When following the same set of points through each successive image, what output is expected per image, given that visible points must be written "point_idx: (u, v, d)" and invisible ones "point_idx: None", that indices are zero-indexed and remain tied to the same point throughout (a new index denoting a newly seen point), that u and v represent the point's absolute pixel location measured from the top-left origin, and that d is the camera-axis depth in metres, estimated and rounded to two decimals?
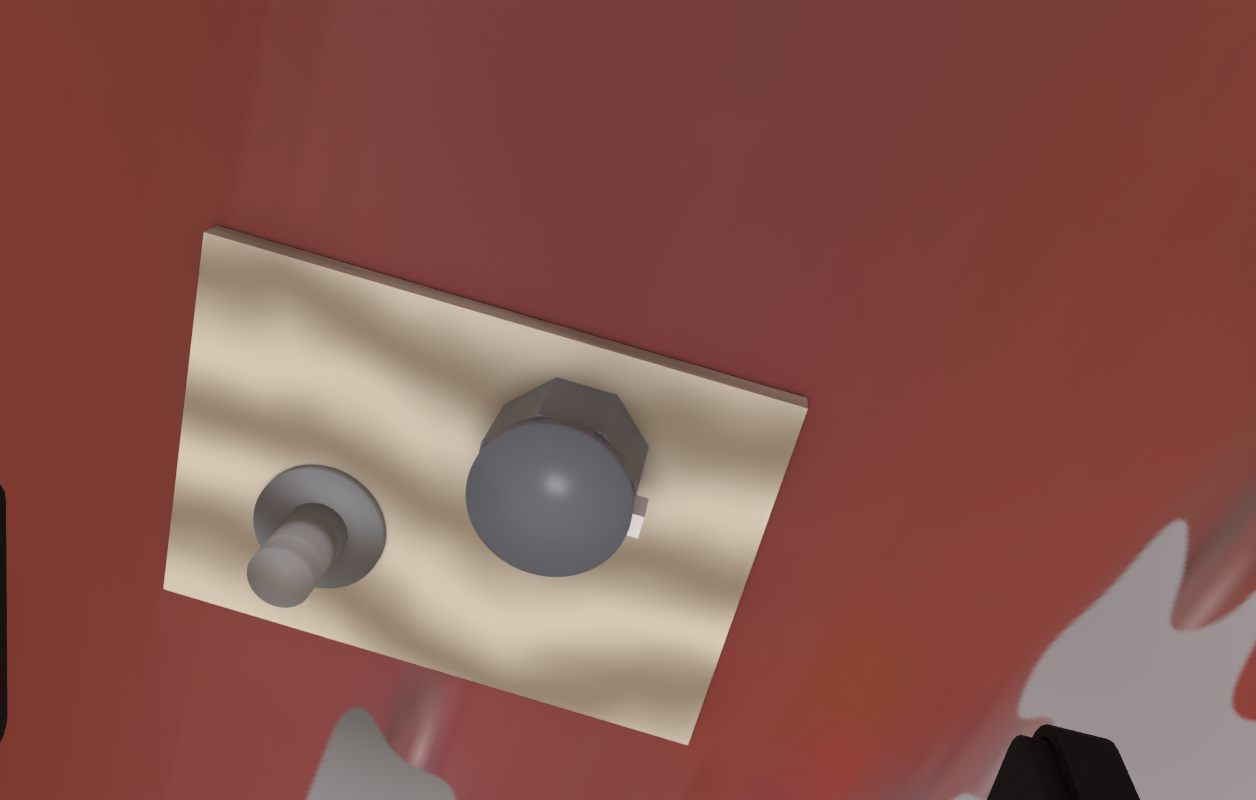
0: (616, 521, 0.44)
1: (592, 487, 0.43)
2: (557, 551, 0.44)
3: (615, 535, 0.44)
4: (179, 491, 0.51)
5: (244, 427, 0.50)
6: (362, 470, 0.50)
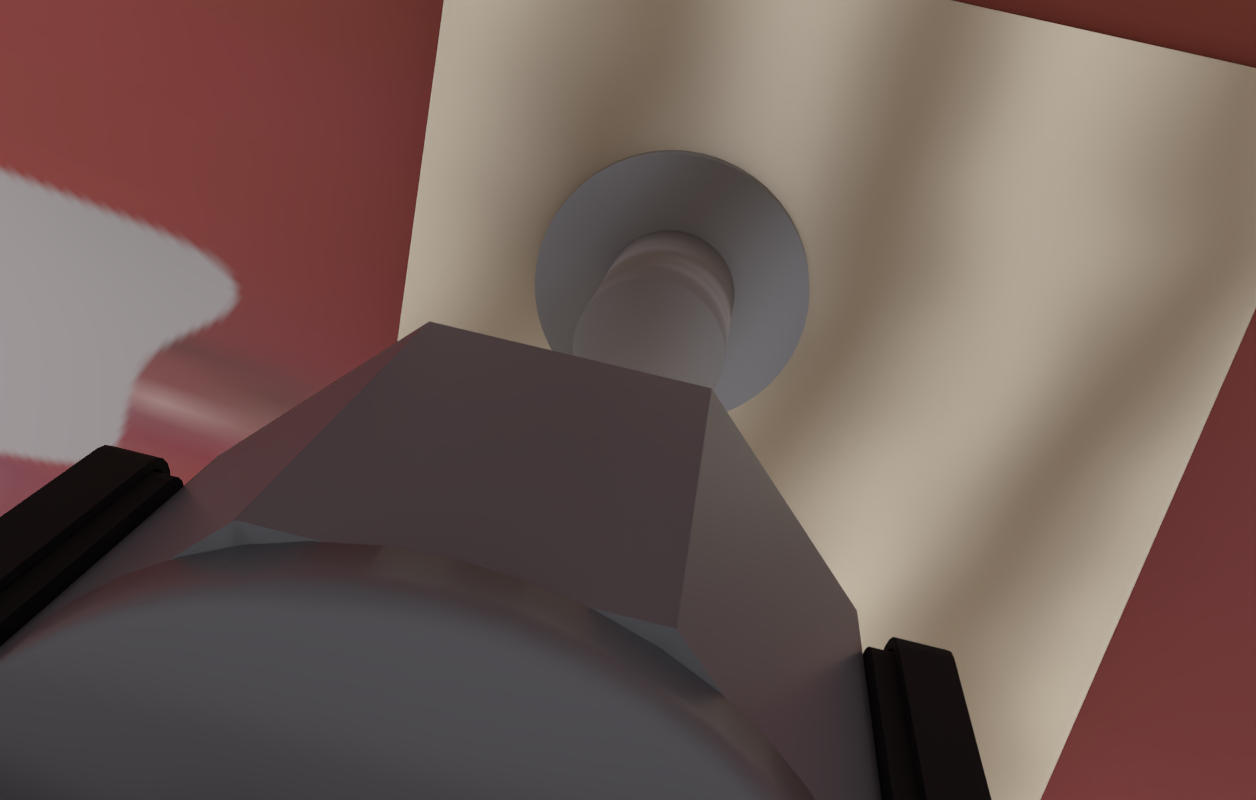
0: None
1: None
2: None
3: None
4: None
5: (887, 136, 0.23)
6: (800, 376, 0.25)
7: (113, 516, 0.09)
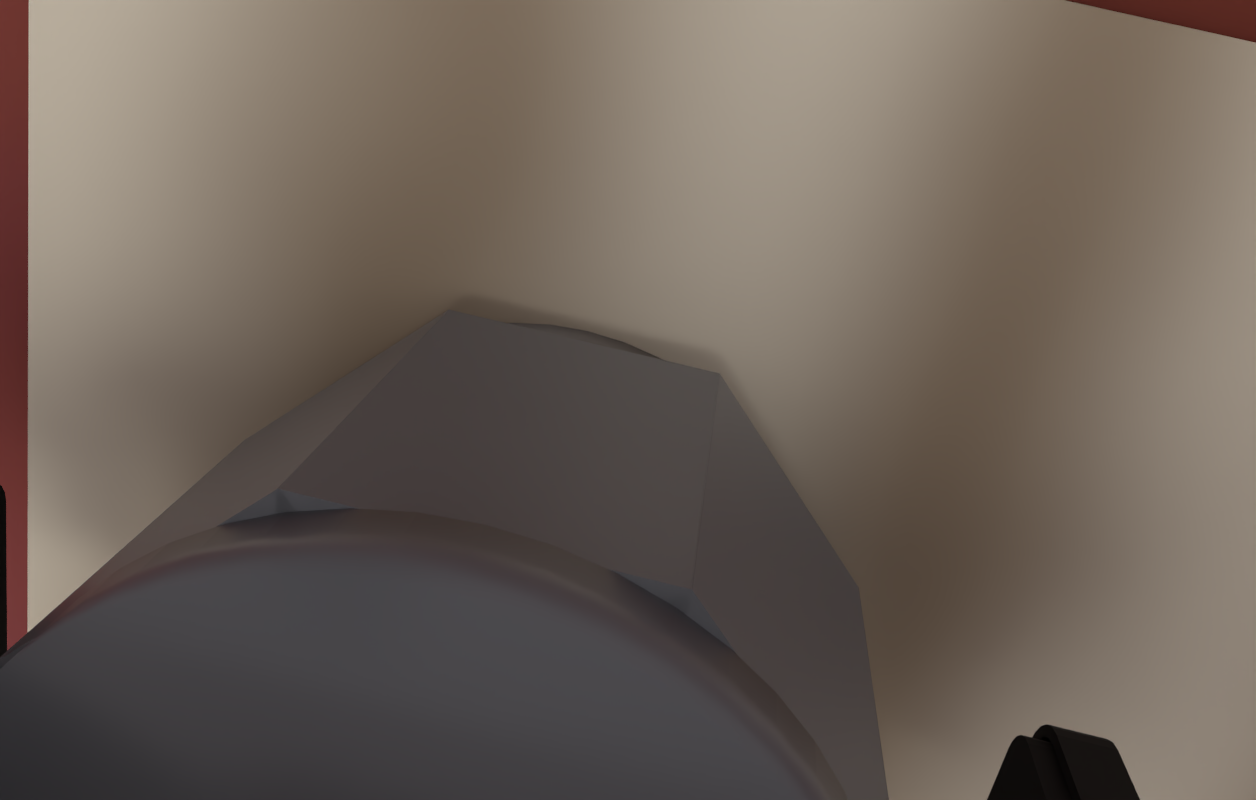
0: None
1: None
2: None
3: None
4: None
5: (975, 303, 0.11)
6: None
7: None
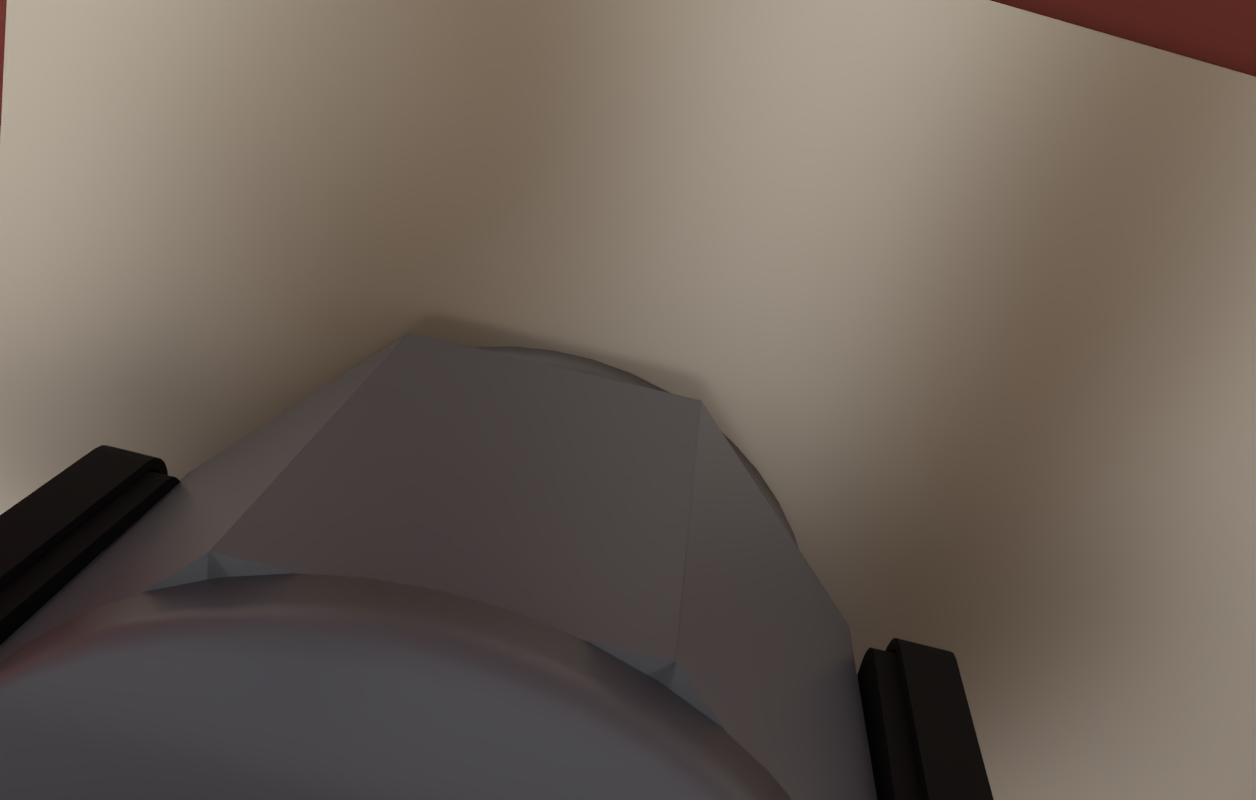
0: None
1: None
2: None
3: None
4: None
5: (1009, 355, 0.10)
6: None
7: (110, 516, 0.09)
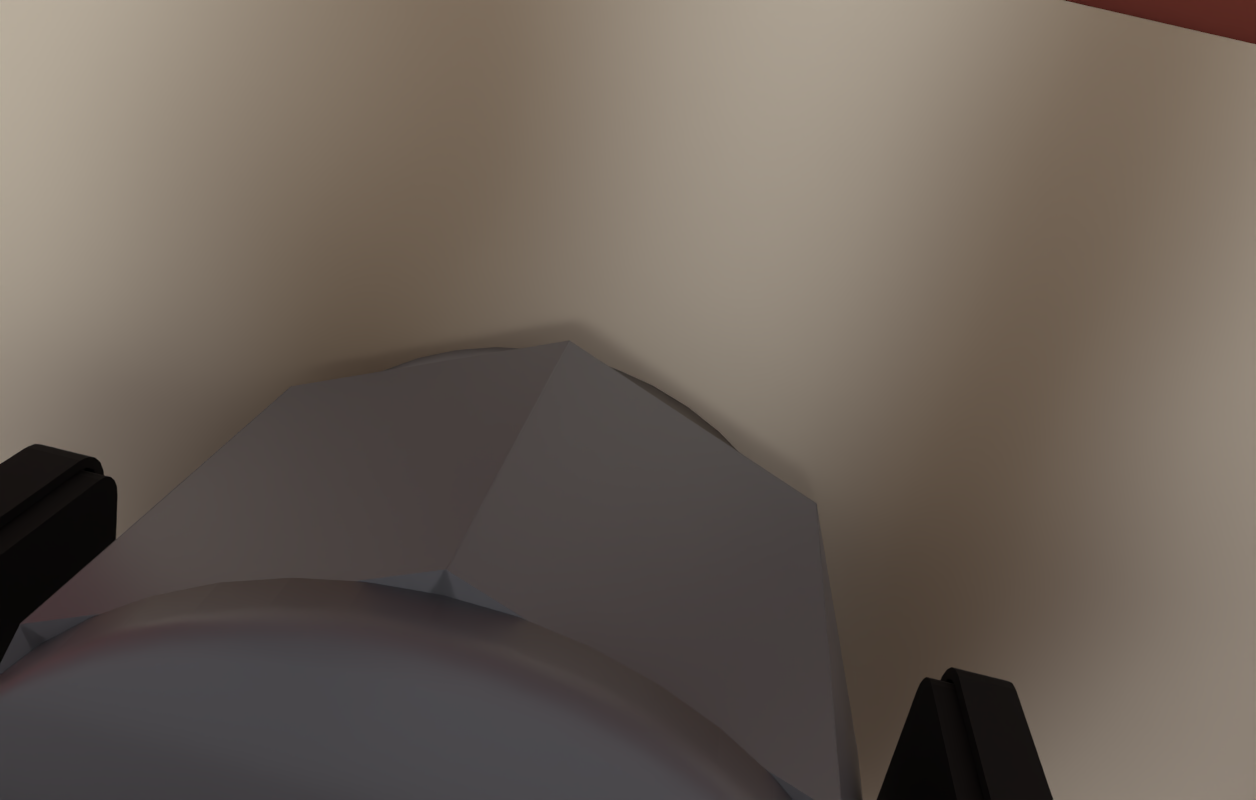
0: None
1: None
2: None
3: None
4: None
5: (992, 331, 0.10)
6: None
7: (37, 516, 0.09)
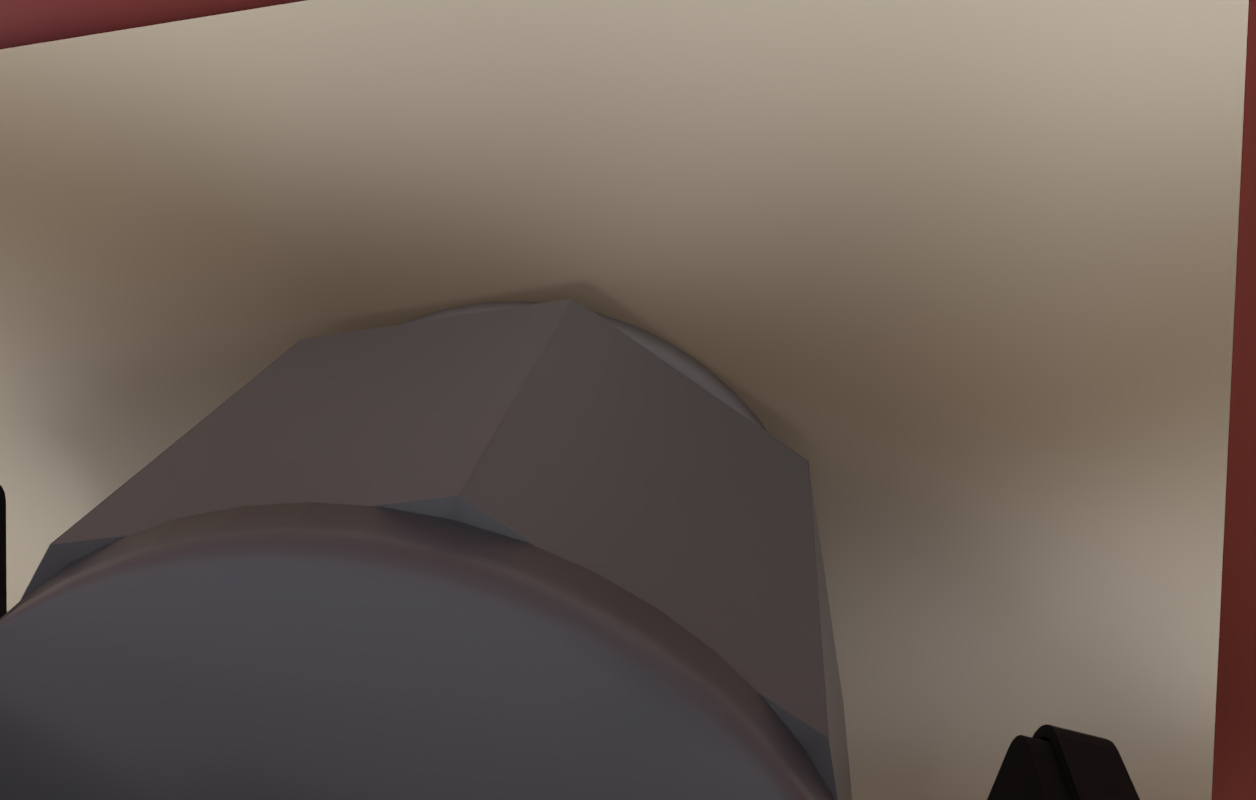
0: None
1: None
2: None
3: None
4: (1200, 476, 0.11)
5: None
6: None
7: None
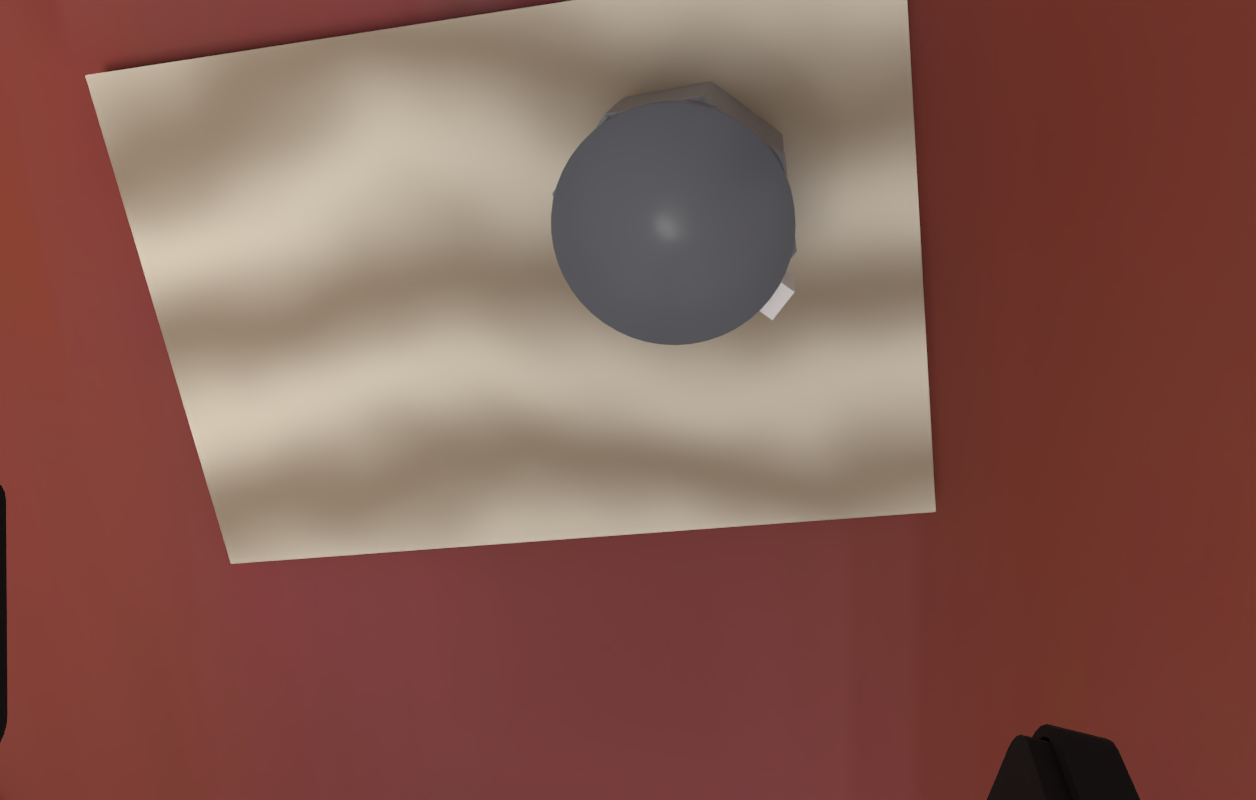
0: (755, 285, 0.30)
1: (743, 224, 0.30)
2: (655, 303, 0.31)
3: (745, 304, 0.31)
4: (907, 143, 0.34)
5: (832, 284, 0.36)
6: None
7: None
